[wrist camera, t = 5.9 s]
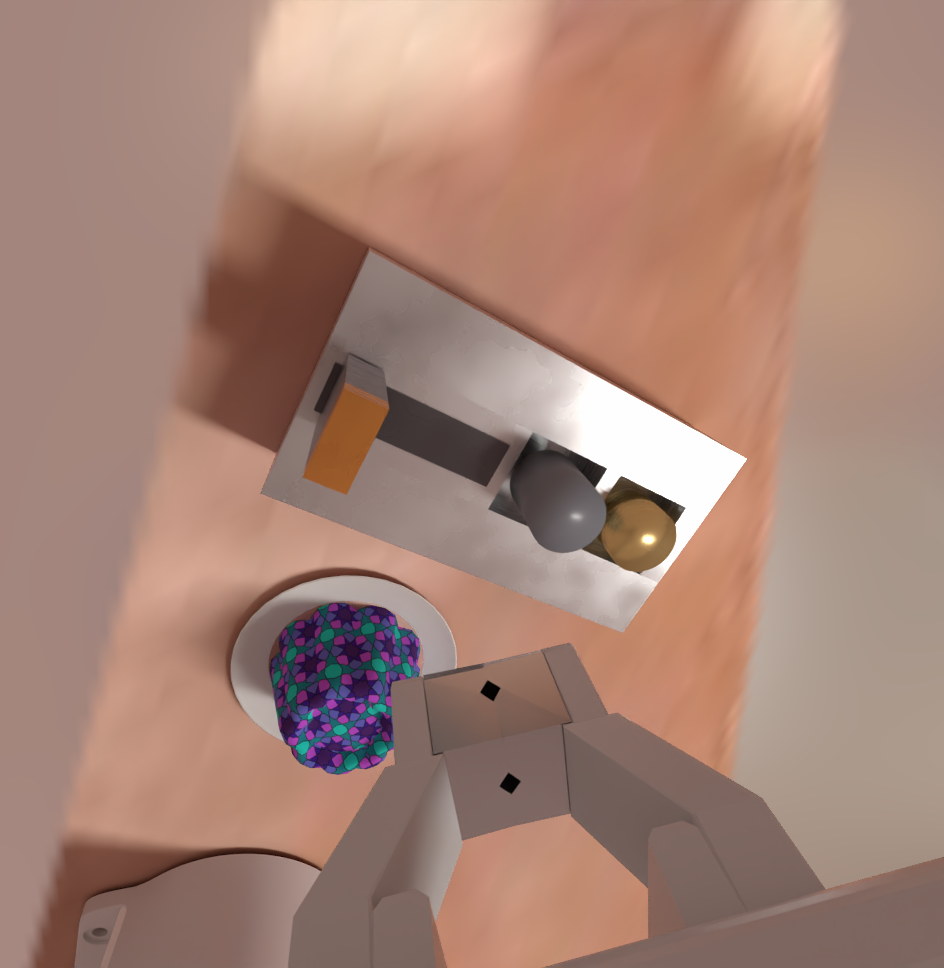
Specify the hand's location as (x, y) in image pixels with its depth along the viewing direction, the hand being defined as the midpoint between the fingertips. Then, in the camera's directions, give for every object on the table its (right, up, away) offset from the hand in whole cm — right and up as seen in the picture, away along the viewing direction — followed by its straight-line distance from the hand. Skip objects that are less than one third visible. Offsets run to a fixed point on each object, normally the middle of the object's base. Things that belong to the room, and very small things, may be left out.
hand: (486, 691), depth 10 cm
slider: (-5, +7, +12) cm, 15 cm away
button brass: (+7, +2, +19) cm, 20 cm away
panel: (+2, +5, +19) cm, 20 cm away
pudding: (-7, -6, +23) cm, 25 cm away
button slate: (+3, +4, +16) cm, 17 cm away
